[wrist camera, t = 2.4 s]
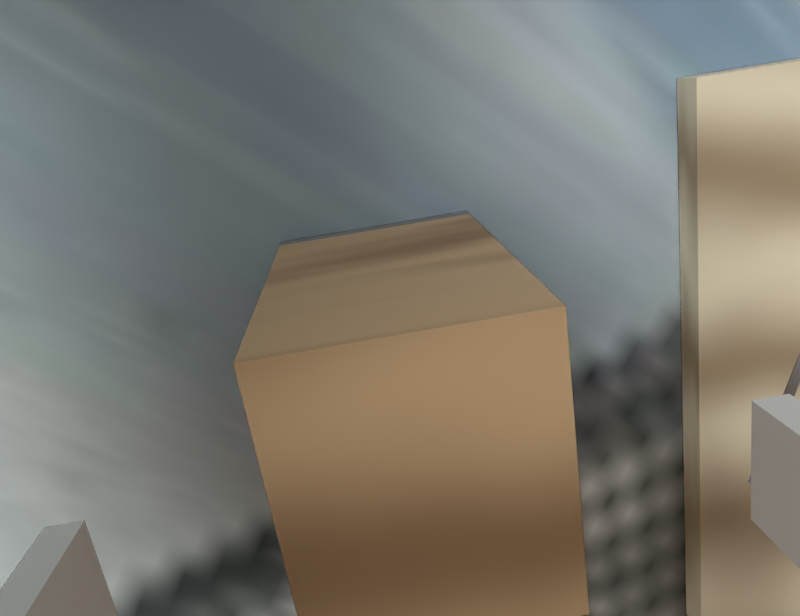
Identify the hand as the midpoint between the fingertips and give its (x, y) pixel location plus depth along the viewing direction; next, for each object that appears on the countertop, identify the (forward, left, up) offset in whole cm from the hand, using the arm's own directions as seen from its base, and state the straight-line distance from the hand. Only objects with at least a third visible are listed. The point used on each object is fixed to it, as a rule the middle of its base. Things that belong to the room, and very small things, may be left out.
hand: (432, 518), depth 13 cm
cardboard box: (0, 0, -10) cm, 10 cm away
